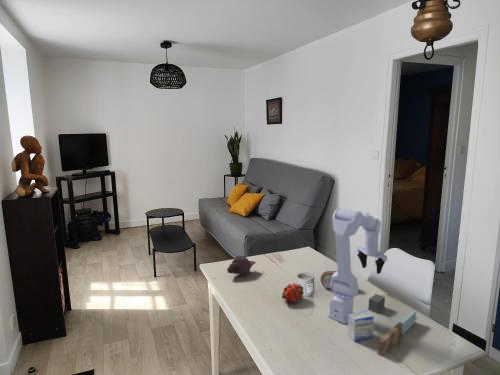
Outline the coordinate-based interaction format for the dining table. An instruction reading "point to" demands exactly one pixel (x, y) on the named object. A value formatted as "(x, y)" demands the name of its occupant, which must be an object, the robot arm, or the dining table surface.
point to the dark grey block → (376, 303)
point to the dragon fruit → (293, 293)
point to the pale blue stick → (408, 321)
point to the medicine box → (360, 325)
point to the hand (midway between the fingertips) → (371, 270)
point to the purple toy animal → (240, 265)
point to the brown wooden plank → (389, 339)
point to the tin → (327, 278)
